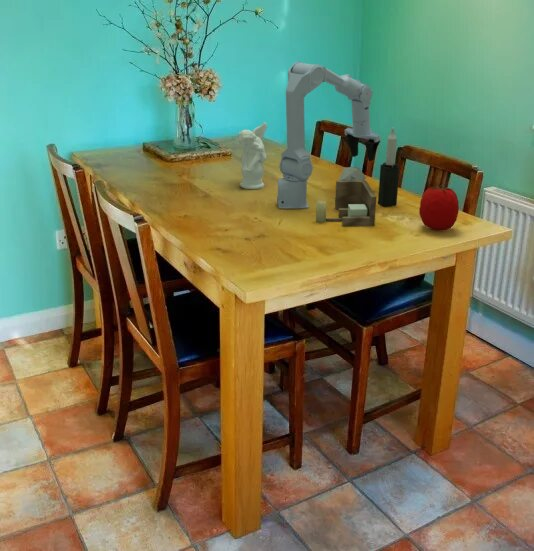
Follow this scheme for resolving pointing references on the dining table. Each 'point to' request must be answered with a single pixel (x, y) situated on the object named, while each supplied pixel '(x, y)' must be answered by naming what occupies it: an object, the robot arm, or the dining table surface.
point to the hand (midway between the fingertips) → (363, 158)
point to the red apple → (439, 208)
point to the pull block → (353, 211)
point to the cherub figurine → (252, 157)
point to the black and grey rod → (389, 175)
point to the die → (352, 174)
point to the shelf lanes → (355, 202)
